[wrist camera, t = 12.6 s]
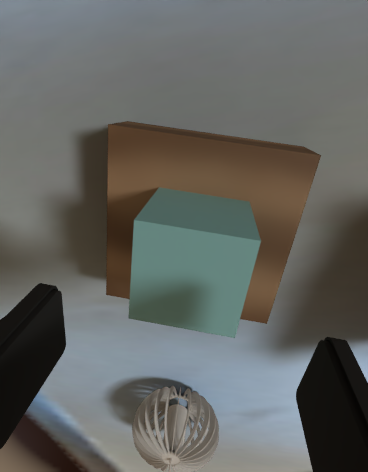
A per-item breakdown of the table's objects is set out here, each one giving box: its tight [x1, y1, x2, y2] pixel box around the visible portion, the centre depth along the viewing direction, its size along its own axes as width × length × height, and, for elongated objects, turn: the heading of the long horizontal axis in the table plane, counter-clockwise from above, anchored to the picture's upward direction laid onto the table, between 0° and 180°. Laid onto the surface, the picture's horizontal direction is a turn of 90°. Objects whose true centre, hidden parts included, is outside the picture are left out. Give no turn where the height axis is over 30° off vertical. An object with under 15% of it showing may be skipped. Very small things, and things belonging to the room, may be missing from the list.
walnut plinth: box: [106, 121, 321, 324], centre depth 22 cm, size 13×13×4 cm
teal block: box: [129, 187, 261, 338], centre depth 17 cm, size 6×6×6 cm
